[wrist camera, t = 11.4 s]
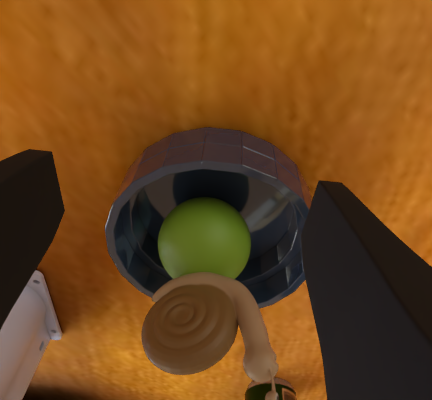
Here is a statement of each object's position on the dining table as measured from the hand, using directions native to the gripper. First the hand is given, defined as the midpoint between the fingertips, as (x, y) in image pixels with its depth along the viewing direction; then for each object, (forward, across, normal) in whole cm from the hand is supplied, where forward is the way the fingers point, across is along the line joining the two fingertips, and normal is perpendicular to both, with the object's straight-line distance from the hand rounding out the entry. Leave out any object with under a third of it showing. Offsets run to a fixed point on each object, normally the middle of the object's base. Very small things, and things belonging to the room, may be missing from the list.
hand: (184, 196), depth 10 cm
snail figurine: (+10, -1, +9) cm, 13 cm away
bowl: (+10, -1, +9) cm, 14 cm away
